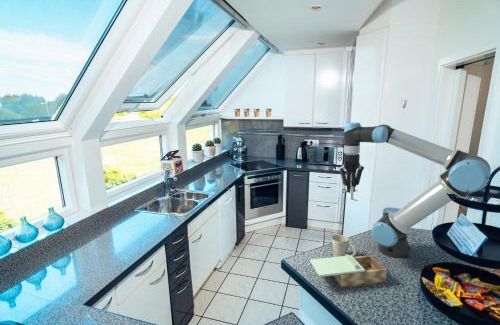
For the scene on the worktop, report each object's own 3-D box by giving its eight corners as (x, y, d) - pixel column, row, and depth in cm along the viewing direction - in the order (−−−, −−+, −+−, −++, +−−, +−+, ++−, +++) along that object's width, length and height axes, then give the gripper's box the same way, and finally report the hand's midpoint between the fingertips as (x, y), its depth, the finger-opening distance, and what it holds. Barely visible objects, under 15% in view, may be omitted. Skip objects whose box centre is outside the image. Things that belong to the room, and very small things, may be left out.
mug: (335, 250, 143) (335, 233, 141) (359, 257, 135) (359, 239, 133) (329, 256, 137) (329, 239, 135) (353, 264, 129) (354, 245, 127)
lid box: (370, 267, 126) (370, 255, 125) (385, 283, 114) (386, 269, 113) (330, 272, 124) (330, 259, 123) (341, 288, 112) (342, 274, 111)
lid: (351, 256, 124) (351, 252, 123) (364, 271, 112) (365, 266, 112) (310, 261, 122) (310, 256, 121) (319, 276, 110) (319, 271, 110)
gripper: (360, 151, 137) (358, 195, 141) (336, 153, 136) (335, 197, 140) (367, 153, 130) (366, 199, 134) (342, 155, 128) (341, 201, 133)
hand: (350, 198), depth 137 cm, fingers closed
